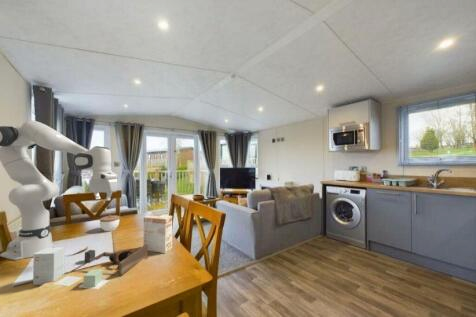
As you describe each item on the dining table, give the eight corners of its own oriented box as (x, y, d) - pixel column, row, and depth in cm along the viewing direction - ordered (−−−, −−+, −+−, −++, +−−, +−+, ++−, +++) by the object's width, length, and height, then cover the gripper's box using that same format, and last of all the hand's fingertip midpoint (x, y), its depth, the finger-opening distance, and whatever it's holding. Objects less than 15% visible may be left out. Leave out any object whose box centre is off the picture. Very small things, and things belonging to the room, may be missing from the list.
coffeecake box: (172, 248, 118) (172, 215, 118) (165, 253, 111) (165, 218, 112) (151, 245, 122) (151, 213, 122) (142, 250, 115) (143, 216, 116)
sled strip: (68, 273, 91) (68, 258, 91) (102, 254, 110) (102, 241, 110) (121, 278, 87) (121, 263, 87) (147, 257, 107) (147, 244, 107)
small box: (65, 275, 90) (65, 246, 90) (53, 284, 83) (53, 253, 83) (45, 276, 89) (46, 247, 89) (32, 285, 83) (32, 254, 83)
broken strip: (52, 287, 81) (52, 284, 81) (66, 278, 87) (66, 275, 87) (97, 292, 79) (97, 289, 79) (109, 282, 84) (109, 280, 84)
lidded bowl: (122, 228, 151) (123, 214, 151) (104, 234, 140) (104, 218, 140) (114, 226, 157) (114, 212, 158) (96, 230, 147) (96, 215, 147)
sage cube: (83, 286, 80) (83, 275, 80) (91, 280, 84) (91, 269, 84) (95, 286, 80) (95, 275, 80) (102, 280, 85) (102, 269, 85)
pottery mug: (136, 260, 105) (138, 249, 102) (128, 277, 96) (129, 266, 93) (112, 256, 103) (113, 245, 100) (102, 273, 94) (102, 262, 91)
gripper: (85, 175, 113) (85, 199, 112) (107, 175, 104) (108, 202, 104) (97, 174, 118) (97, 197, 118) (119, 175, 110) (120, 199, 110)
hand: (102, 199), depth 111 cm, fingers open, 8 cm apart
